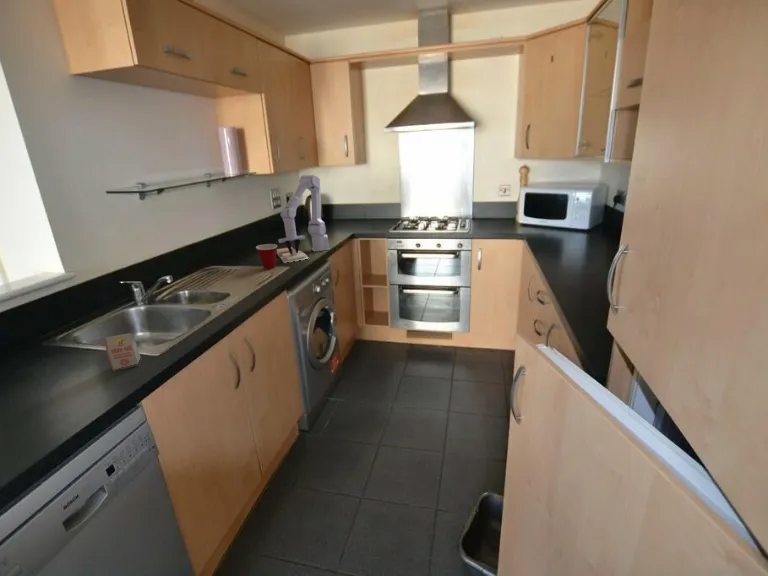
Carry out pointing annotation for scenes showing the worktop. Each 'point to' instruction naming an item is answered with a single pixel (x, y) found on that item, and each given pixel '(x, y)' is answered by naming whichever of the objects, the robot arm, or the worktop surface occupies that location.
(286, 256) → the lid
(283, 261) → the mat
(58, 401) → the worktop surface
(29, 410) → the worktop surface
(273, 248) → the plastic cup
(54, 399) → the worktop surface
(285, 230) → the robot arm
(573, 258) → the worktop surface
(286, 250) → the block
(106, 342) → the beige cardboard box
